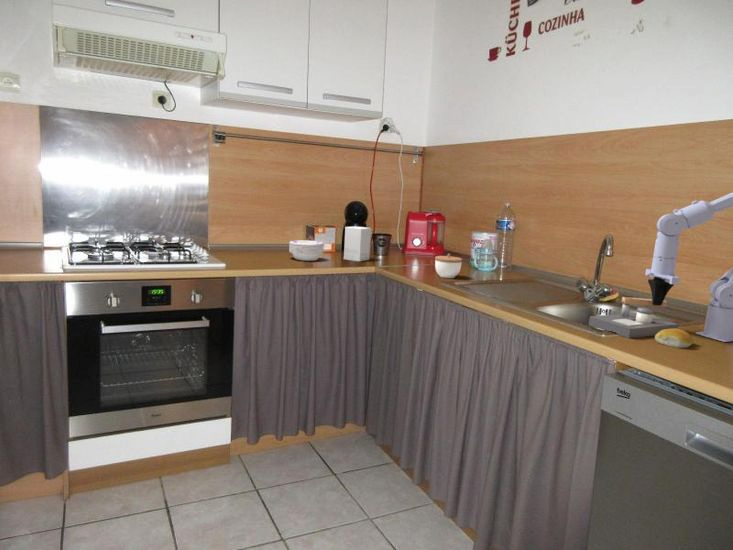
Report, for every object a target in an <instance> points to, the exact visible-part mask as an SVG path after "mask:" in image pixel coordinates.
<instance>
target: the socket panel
mask: <svg viewBox="0 0 733 550" xmlns="http://www.w3.org/2000/svg"><path fill="white" fill-rule="evenodd" d="M630 309H631V304H624V303H622V306H621V313H619V314H606V315H592V316H591V315H590V316H589V318H588V319H589V321H588V326H589V327H594V328H596V329H599V330H603V331H605V330H607V331H606V332H608V331H613V332H616V333H617V334H619V335H618V336H620V335H621V336H622V337H624V338H627V339H632V338H633V339H635V338H645V337H653V336H655V335H656V334H657V333H658V332H660V331H661V330H665V329H674V328H676V329H679V323H676V322H672V321H668V320H665V319H661V318H657V317H652V323H651V324H643V323H640V322H636V321H635V320H636V314H637V312H630ZM617 334H616V335H617ZM621 336H620V337H621Z"/></svg>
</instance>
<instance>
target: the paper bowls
mask: <svg viewBox="0 0 733 550" xmlns="http://www.w3.org/2000/svg"><path fill="white" fill-rule="evenodd" d="M324 247H325V243H324V242H322V241H319V240H308V239H307V240H304V239H303V240H301V239H300V240H290V241H289V245H288V250H289V253H290V254H292V256H293V258H294V260H297V261H303V262H304V261H305V262H311V261H317V260H318V259H319V258H320V256H321V255H323V254H324V251H325V249H324Z"/></svg>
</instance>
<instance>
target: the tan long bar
mask: <svg viewBox="0 0 733 550" xmlns="http://www.w3.org/2000/svg"><path fill="white" fill-rule="evenodd" d="M623 303H624V304H630V305H636V306H637V305H638V306H649V307H661V308H667V306H668V301H667V300H665V299H664V301H663V303H662V305H661V306H659V305H653V301H652V298H642V297H627V296H622V297H621V304H623Z"/></svg>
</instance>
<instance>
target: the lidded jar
mask: <svg viewBox="0 0 733 550" xmlns="http://www.w3.org/2000/svg"><path fill="white" fill-rule="evenodd" d="M462 262H463V258H461V257H457V256H451V253H447V255H437V256H435V257H434V267H435V268H434V269H435V271H436V274H438V275H439V276H438V277H440V278H442V279H443V278H444V279H445V278H446V279H455V277H456V276H457V275H459V273H460V271H461V269H462V268H461V267H462Z"/></svg>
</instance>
